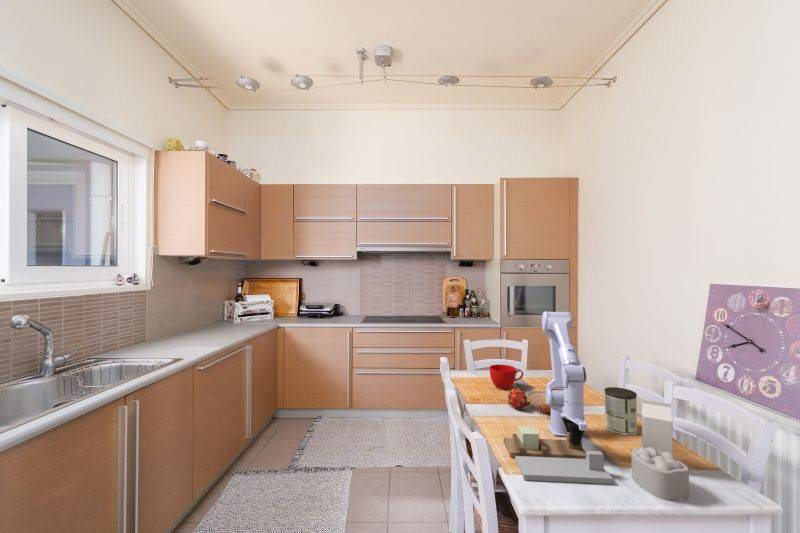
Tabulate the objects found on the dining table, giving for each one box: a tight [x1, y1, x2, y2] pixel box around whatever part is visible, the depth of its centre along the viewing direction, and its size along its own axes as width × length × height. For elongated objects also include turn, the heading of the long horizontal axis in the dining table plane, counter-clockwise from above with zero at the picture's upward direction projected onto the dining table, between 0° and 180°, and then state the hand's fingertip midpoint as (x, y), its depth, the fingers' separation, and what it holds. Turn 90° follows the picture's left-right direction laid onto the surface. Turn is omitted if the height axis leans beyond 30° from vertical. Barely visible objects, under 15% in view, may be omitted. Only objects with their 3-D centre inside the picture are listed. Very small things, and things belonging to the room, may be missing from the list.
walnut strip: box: [503, 432, 586, 459], centre depth 114 cm, size 24×10×6 cm, turn 85°
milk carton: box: [641, 398, 674, 456], centre depth 107 cm, size 7×7×19 cm
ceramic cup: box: [489, 364, 524, 390], centre depth 178 cm, size 13×17×10 cm
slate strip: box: [514, 450, 614, 485], centre depth 102 cm, size 24×10×6 cm, turn 85°
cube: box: [518, 426, 540, 450], centre depth 115 cm, size 5×5×5 cm
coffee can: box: [603, 386, 638, 436], centre depth 131 cm, size 10×10×14 cm
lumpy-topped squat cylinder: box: [631, 446, 690, 502], centre depth 96 cm, size 10×13×9 cm
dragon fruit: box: [507, 388, 531, 411], centre depth 151 cm, size 8×8×12 cm
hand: (574, 443), depth 114 cm, fingers closed on walnut strip, 2 cm apart
